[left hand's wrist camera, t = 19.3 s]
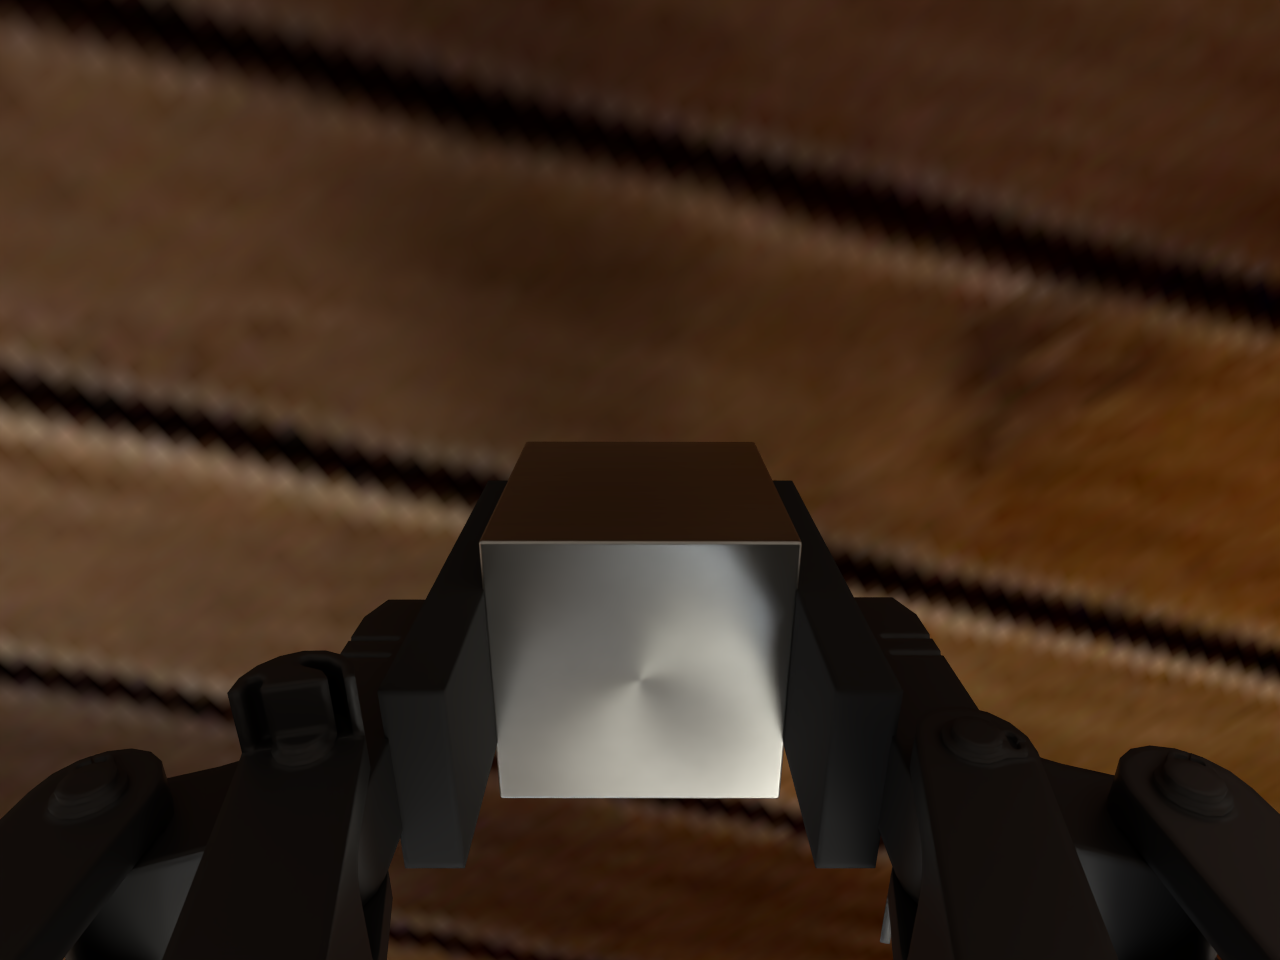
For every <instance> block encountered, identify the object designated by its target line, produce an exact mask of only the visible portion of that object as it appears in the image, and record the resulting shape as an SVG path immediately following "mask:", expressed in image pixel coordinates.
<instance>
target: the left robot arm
mask: <svg viewBox="0 0 1280 960" xmlns="http://www.w3.org/2000/svg"><path fill="white" fill-rule="evenodd" d="M507 482H508V481H488V483H487V484H486V486H485V488H484V490H483V492H482V494H481V496H480V498H479V500H478V501H477V503H476V505H475V507H474V509H473V511H472V513H471V515H470V517H469V518H468V520H467V522H466V524H465V526H464V528H463V530H462V532H461V534H460V536H459V537H458V539H457V541H456V543H455V545H454V547H453V549H452V551H451V553H450V554H449V556H448V558H447V560H446V562H445V564H444V566H443V568H442V570H441V571H440V573H439V575H438V577H437V579H436V581H435V583H434V585H433V587H432V588H431V590H430V592H429V594H428V596H427V598H426V600H387V601H386V602H385V603H383V604H382V605H380V606H379V607H378V608H376V609H375V610H373V611H372V612H371V613H369V614H368V615H367V616H365V617H364V618H363V620H362V622H361V623H360V625H359V626H358V628H357V629H356V631H355V632H354V634H353V635H352V637H351V641H348V643H347V645H346V646H345V648H344V649H343V651H342V652H341V654H337V653H333V652H329V651H301V652H297V653H292V654H287V655H283V656H279V657H277V658H274V659H272V660H270V661H267V662H265V663H262V664H260V665H258V666H256V667H255V668H253V669H252V670H250V671H249V672H247V673H246V674H245V675H243V676H242V677H240V678H239V679H238V680H237V681H236V683H235V684H234V685H233V686H232V688H231V689H230V690H229V692H228V693H227V694H228V698H229V702H230V706H231V710H232V714H233V718H234V722H235V726H236V730H237V734H238V738H239V742H240V746H241V750H242V755H241V758H240V760H239V761H237V762H234V763H230V764H227V765H224V766H220V767H216V768H211V769H207V770H202V771H198V772H193V773H189V774H184V775H180V776H175V777H171V778H167V777H166V774H165V771H164V767H163V764H162V761H161V760H160V759H159V758H157V757H156V756H155V755H154V754H153V753H152V752H149V751H143V750H137V749H124V750H115V751H107V752H104V753H100V754H97V755H94V756H90V757H87V758H85V759H82V760H79V761H77V762H75V763H73V764H71V765H69V766H67V767H65V768H63V769H61V770H59V771H57V772H55V773H54V774H52V775H50V776H49V777H48V778H47V779H45V780H44V781H43V782H41V783H40V784H39V785H37V786H36V787H35V788H33V789H32V790H31V791H30V792H28V793H27V794H26V795H25V796H24V797H23V798H22V799H21V800H20V801H19V802H18V803H17V804H16V805H15V806H14V807H13V808H12V809H11V810H10V811H9V812H8V813H7V814H6V815H5V816H4V817H2V818H1V819H0V960H63V958H64V957H65V958H66V959H65V960H387V952H388V941H389V930H390V920H391V909H392V899H393V898H392V891H391V884H390V878H389V872H388V868H389V866H390V863H391V860H392V858H393V855H394V852H395V850H396V847H397V844H398V842H399V839H400V838H401V844H402V851H403V857H404V863H405V868H465V865H466V861H467V857H468V854H469V850H470V846H471V842H472V838H473V834H474V830H475V827H476V823H477V819H478V815H479V811H480V807H481V803H482V800H483V796H484V792H485V788H486V784H487V780H488V777H489V773H490V769H491V765H492V761H493V757H494V753H495V750H496V746H497V737H496V725H495V714H494V702H493V690H492V679H491V667H490V655H489V644H488V632H487V621H486V609H485V597H484V590H483V587H482V575H481V563H480V551H479V541H480V539H481V537H482V535H483V533H484V531H485V528H486V526H487V524H488V522H489V520H490V518H491V516H492V514H493V512H494V509H495V507H496V505H497V503H498V501H499V499H500V497H501V495H502V493H503V490H504V488H505V486H506V484H507ZM773 483H774V485H775V487H776V489H777V491H778V494H779V496H780V498H781V500H782V502H783V504H784V506H785V508H786V510H787V513H788V515H789V517H790V519H791V521H792V523H793V525H794V527H795V529H796V532H797V534H798V536H799V538H800V540H801V542H802V549H801V560H800V571H799V583H798V589H797V592H796V604H795V615H794V627H793V638H792V650H791V662H790V673H789V685H788V696H787V708H786V719H785V731H784V742H783V744H784V748H785V752H786V755H787V759H788V763H789V767H790V771H791V775H792V779H793V782H794V786H795V790H796V794H797V798H798V802H799V805H800V809H801V813H802V817H803V821H804V825H805V829H806V832H807V836H808V840H809V844H810V848H811V852H812V855H813V859H814V863H815V867H816V868H875V867H876V860H877V854H878V848H879V841H880V835H881V837H882V839H883V842H884V845H885V847H886V850H887V853H888V855H889V858H890V861H891V863H892V866H893V867H892V872H891V878H890V884H889V890H888V896H887V902H886V908H885V914H884V920H883V925H882V932H881V939H880V942H883V943H888V944H889V943H890V938H891V939H892V950H893V960H1218V959H1217V957H1216V955H1217V954H1218V955H1219V956H1220V957H1221V959H1222V960H1280V814H1279V813H1278V812H1277V811H1276V810H1275V809H1273V808H1272V807H1271V806H1270V805H1269V804H1268V803H1267V802H1266V801H1265V800H1264V799H1263V798H1262V797H1261V796H1260V795H1259V794H1258V793H1257V792H1256V791H1255V790H1254V789H1252V788H1251V787H1250V786H1249V785H1247V784H1246V783H1245V782H1243V781H1242V780H1241V779H1239V778H1238V777H1237V776H1235V775H1234V774H1233V773H1232V772H1230V771H1228V770H1226V769H1224V768H1223V767H1221V766H1219V765H1217V764H1215V763H1213V762H1211V761H1209V760H1207V759H1205V758H1203V757H1200V756H1197V755H1195V754H1192V753H1187V752H1185V751H1181V750H1178V749H1175V748H1166V747H1158V746H1145V747H1139V748H1133V749H1130V750H1129V751H1128V752H1127V753H1125V754H1124V755H1123V756H1122V757H1121V758H1120V760H1119V763H1118V766H1117V770H1116V773H1115V776H1114V775H1110V774H1105V773H1101V772H1096V771H1092V770H1087V769H1083V768H1078V767H1074V766H1069V765H1065V764H1061V763H1057V762H1054V761H1050V760H1047V759H1043V758H1041V757H1040V756H1039V754H1038V752H1037V750H1036V749H1035V747H1034V746H1033V744H1032V743H1031V741H1030V740H1029V738H1028V737H1027V736H1026V735H1025V734H1023V733H1022V732H1021V731H1020V730H1018V729H1017V728H1016V727H1015V726H1013V725H1012V724H1011V723H1009V722H1007V721H1005V720H1003V719H1001V718H999V717H997V716H995V715H993V714H990V713H988V712H984V711H980V710H979V709H978V708H977V706H976V705H975V703H974V702H973V700H972V699H971V697H970V695H969V694H968V692H967V691H966V689H965V688H964V686H963V685H962V683H961V682H960V680H959V679H958V677H957V676H956V674H955V673H954V671H953V670H952V668H951V667H950V665H949V664H948V662H947V660H946V659H945V657H944V656H941V654H940V650H939V648H938V647H937V645H936V644H935V642H934V641H933V639H930V635H929V633H928V632H927V630H926V628H925V627H924V625H923V624H922V622H921V621H920V619H919V618H918V616H917V615H916V614H915V613H913V612H912V611H911V610H909V609H908V608H906V607H905V606H904V605H902V604H901V603H899V602H898V601H897V600H895V599H894V598H892V597H853V595H852V593H851V591H850V589H849V587H848V586H847V584H846V582H845V580H844V578H843V576H842V574H841V572H840V570H839V569H838V567H837V565H836V563H835V561H834V559H833V557H832V555H831V553H830V552H829V550H828V548H827V546H826V544H825V542H824V540H823V538H822V536H821V535H820V533H819V531H818V529H817V527H816V525H815V523H814V521H813V519H812V518H811V516H810V514H809V512H808V510H807V508H806V506H805V504H804V502H803V500H802V499H801V497H800V495H799V493H798V491H797V489H796V487H795V485H794V483H793V482H792V481H773Z"/></svg>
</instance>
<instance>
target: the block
mask: <svg viewBox="0 0 1280 960" xmlns="http://www.w3.org/2000/svg"><path fill="white" fill-rule="evenodd" d="M801 549H802V542H801V540H800V538H799V536H798V534H797V532H796V529H795V527H794V525H793V523H792V521H791V519H790V517H789V515H788V513H787V510H786V508H785V506H784V504H783V502H782V500H781V498H780V496H779V494H778V491H777V489H776V487H775V485H774V483H773V481H772V479H771V477H770V475H769V472H768V470H767V468H766V466H765V464H764V462H763V460H762V458H761V456H760V453H759V451H758V449H757V447H756V445H755V443H754V442H526V444H525V446H524V448H523V450H522V452H521V455H520V457H519V459H518V461H517V463H516V465H515V467H514V469H513V471H512V474H511V476H510V478H509V480H508V482H507V484H506V486H505V488H504V490H503V493H502V495H501V497H500V499H499V501H498V503H497V505H496V507H495V509H494V512H493V514H492V516H491V518H490V520H489V522H488V524H487V526H486V528H485V531H484V533H483V535H482V537H481V539H480V541H479V551H480V563H481V575H482V587H483V590H484V597H485V609H486V621H487V632H488V644H489V655H490V667H491V679H492V690H493V702H494V714H495V725H496V737H497V746H496V752H497V763H498V775H499V787H500V796H501V797H502V798H779V795H780V785H781V773H782V762H783V751H784V744H783V742H784V731H785V719H786V708H787V696H788V685H789V673H790V662H791V650H792V638H793V627H794V615H795V604H796V592H797V589H798V583H799V571H800V560H801Z"/></svg>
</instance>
